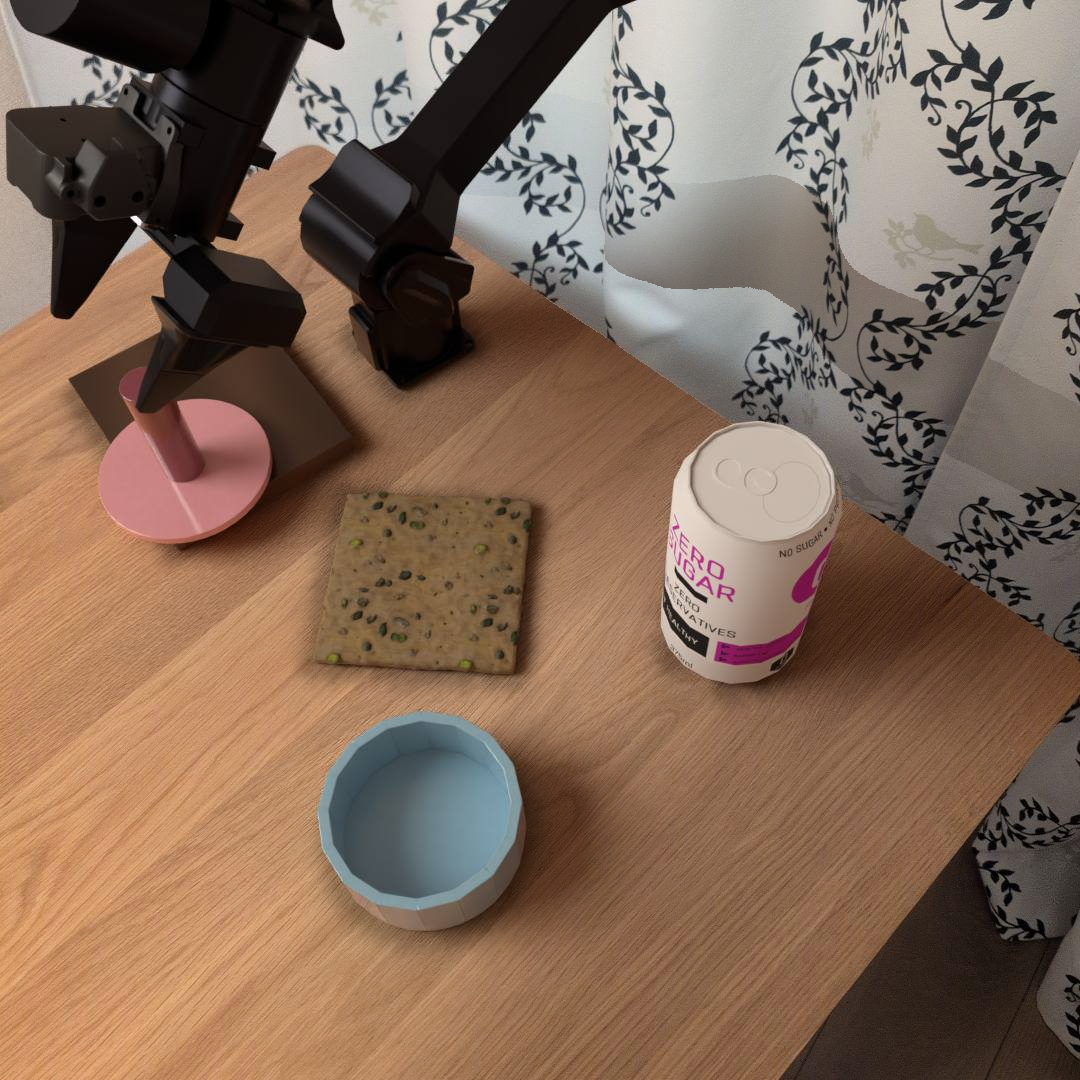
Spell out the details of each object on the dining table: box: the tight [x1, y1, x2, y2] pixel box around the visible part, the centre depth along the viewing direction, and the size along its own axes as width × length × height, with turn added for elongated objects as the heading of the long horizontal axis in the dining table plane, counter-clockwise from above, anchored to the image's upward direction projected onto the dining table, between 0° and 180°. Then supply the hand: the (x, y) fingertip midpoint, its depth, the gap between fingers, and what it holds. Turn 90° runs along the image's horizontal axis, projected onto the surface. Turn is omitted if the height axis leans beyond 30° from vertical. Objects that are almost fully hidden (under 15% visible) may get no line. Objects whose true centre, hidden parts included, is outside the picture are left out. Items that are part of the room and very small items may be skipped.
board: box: [67, 331, 357, 551], centre depth 77 cm, size 13×16×2 cm
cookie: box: [312, 491, 533, 675], centre depth 69 cm, size 12×12×1 cm
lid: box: [97, 367, 272, 545], centre depth 69 cm, size 11×11×9 cm
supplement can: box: [660, 420, 843, 685], centre depth 61 cm, size 8×8×15 cm
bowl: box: [316, 710, 527, 932], centre depth 60 cm, size 10×10×4 cm
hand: (100, 363), depth 62 cm, fingers open, 9 cm apart
